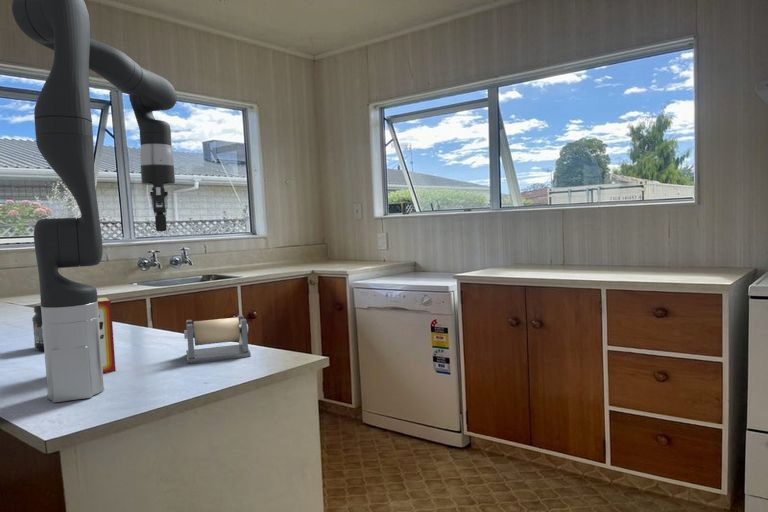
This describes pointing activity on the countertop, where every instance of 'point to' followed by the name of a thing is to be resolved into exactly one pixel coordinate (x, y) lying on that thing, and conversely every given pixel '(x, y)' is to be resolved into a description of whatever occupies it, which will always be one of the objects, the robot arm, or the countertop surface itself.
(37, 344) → the supplement container
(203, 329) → the paper roll
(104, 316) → the baking soda box
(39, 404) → the countertop surface
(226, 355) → the roll holder
